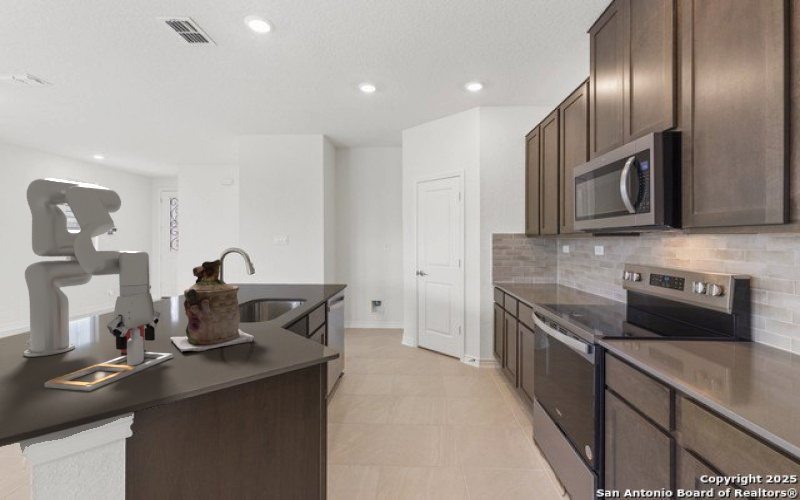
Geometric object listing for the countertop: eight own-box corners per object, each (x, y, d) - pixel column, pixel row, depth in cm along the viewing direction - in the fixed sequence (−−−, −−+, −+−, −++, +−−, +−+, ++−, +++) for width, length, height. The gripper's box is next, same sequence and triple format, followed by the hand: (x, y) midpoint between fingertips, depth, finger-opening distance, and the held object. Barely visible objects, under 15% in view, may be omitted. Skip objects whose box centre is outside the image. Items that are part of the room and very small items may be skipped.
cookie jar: (235, 330, 151) (235, 257, 150) (256, 342, 133) (256, 259, 132) (168, 340, 134) (167, 258, 134) (181, 356, 116) (181, 261, 116)
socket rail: (44, 387, 91) (44, 381, 91) (136, 354, 117) (136, 350, 117) (89, 390, 88) (89, 385, 88) (173, 357, 115) (173, 353, 115)
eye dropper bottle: (121, 365, 107) (120, 327, 106) (139, 359, 112) (139, 323, 112) (131, 367, 105) (131, 328, 105) (149, 361, 111) (149, 324, 111)
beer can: (131, 354, 117) (131, 319, 117) (115, 353, 118) (115, 318, 118) (149, 349, 123) (148, 315, 123) (134, 347, 125) (133, 314, 124)
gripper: (148, 287, 117) (150, 337, 118) (96, 294, 100) (98, 352, 101) (168, 287, 116) (169, 337, 116) (118, 294, 99) (120, 353, 99)
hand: (136, 344), depth 109 cm, fingers open, 9 cm apart
